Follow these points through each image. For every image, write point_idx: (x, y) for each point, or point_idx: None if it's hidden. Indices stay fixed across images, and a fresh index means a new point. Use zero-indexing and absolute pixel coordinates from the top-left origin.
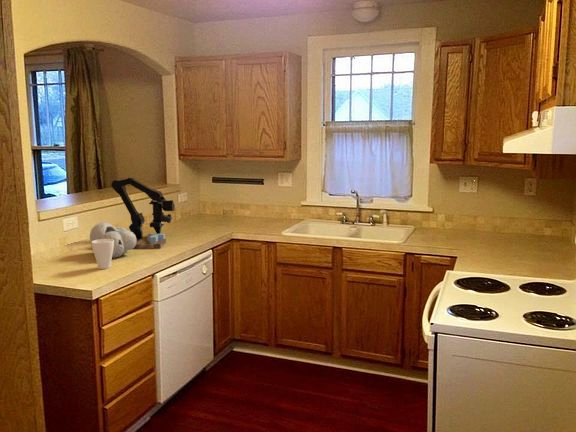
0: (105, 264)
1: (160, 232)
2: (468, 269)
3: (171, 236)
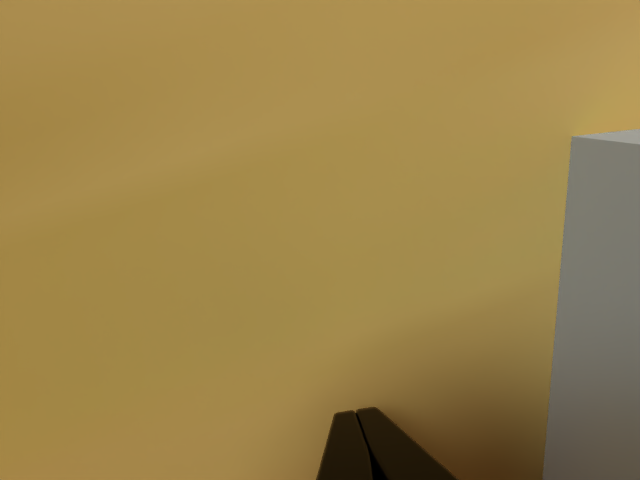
0: None
1: (330, 477)
2: None
3: (24, 102)
